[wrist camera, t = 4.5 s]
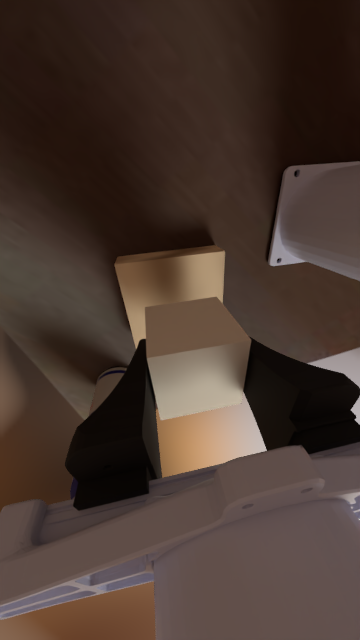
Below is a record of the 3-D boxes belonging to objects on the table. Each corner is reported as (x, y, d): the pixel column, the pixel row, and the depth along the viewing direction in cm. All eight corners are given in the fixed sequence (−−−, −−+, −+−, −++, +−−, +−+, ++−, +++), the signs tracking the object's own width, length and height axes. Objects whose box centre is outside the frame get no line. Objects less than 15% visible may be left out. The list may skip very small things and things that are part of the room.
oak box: (213, 244, 18) (225, 250, 16) (212, 322, 23) (220, 337, 21) (118, 255, 17) (114, 264, 15) (137, 334, 22) (136, 351, 20)
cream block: (216, 296, 13) (251, 340, 9) (215, 350, 16) (241, 403, 12) (144, 307, 13) (146, 358, 9) (155, 361, 16) (160, 420, 11)
